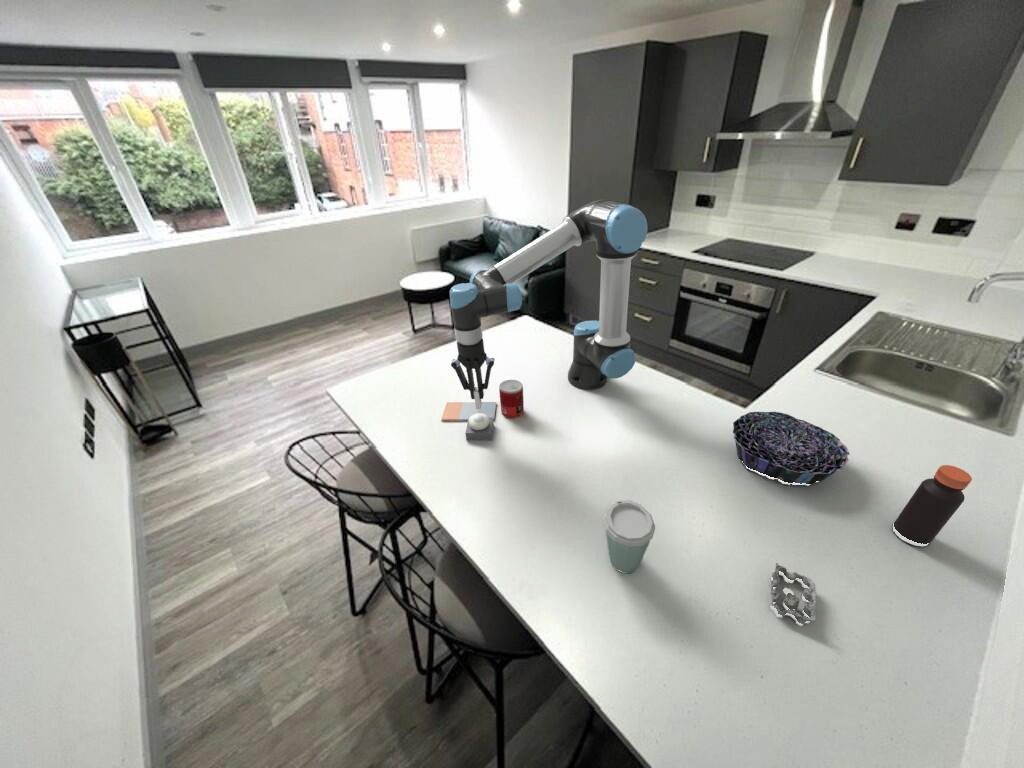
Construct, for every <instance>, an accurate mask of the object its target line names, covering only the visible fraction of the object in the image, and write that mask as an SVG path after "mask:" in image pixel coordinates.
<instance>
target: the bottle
mask: <svg viewBox="0 0 1024 768" xmlns="http://www.w3.org/2000/svg"><path fill="white" fill-rule="evenodd" d="M972 481H973V477H972V476H971V475H970V474H969V472H968V471H965V470H964V469H961V468H960V467H957V466H954V465H949V464H943V465H941V466H939V467H938V468H937V470H936V472H935V473H934V476H933V477H932V478H931V477H930V478H926V479H924V480H922V481H921V483H920V484H919V485H918V487H917V488H916V490H915V491H914V493H913V495H912V496H911V497H910V498H909V500H908V502H907V503H906V504H905V506H904V507H903V509H902V510H901V512H900V514H898V516H897V518H896V519H895V521H894V522H893V523H894V527H895V529H896V530H897V531H898V532H899V533H900V534H901V535H902V536H904V537H906V538H907V539H909V540H912V541H914V542H917V543H921V544H922V543H923V544H927V543H930V542H931V543H932V542H933V541H934V539H936V537H937V535H938V534H939V533H940V532H941V530H942V529H944V526H945V525H946V524H947V523H948V522H949V521H950V519H951V518H952V516H953V515H955V513H956V512H957V510H958V509H959V508H960V506H961V505H962V504H963V503H964V501H965V494H964V492H963V491H964V490H965V489H966V488H967V487H968V486H969V484H970V483H971V482H972ZM931 543H930V544H931Z"/></svg>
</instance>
